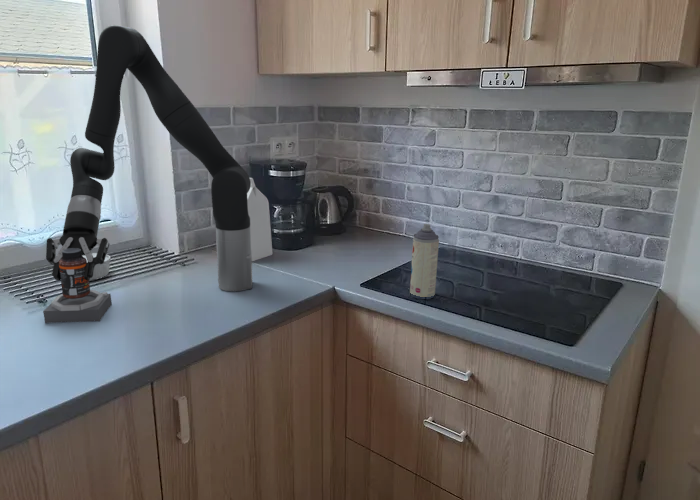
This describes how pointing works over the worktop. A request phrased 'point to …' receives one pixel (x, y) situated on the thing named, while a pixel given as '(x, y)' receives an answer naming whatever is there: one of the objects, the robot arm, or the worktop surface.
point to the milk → (259, 223)
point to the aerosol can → (424, 262)
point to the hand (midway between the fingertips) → (72, 278)
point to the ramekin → (100, 267)
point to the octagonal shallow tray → (78, 308)
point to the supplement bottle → (73, 274)
